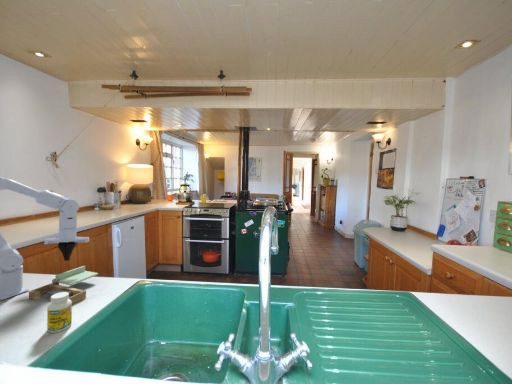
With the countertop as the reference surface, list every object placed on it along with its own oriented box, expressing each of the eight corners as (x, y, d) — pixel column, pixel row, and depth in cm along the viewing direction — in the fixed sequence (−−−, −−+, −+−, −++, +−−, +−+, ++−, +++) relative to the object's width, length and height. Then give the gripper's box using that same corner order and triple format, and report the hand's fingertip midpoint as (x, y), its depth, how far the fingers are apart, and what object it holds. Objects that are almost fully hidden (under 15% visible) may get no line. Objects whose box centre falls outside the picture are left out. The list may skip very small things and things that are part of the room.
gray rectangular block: (46, 299, 82) (46, 292, 82) (52, 296, 85) (52, 289, 84) (65, 301, 81) (66, 294, 81) (71, 298, 84) (72, 291, 84)
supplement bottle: (72, 320, 71) (73, 289, 71) (70, 329, 66) (71, 296, 66) (48, 325, 68) (49, 293, 68) (45, 335, 63) (45, 301, 63)
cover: (68, 286, 85) (68, 279, 85) (50, 282, 87) (50, 276, 87) (98, 274, 97) (98, 268, 97) (82, 271, 99) (82, 265, 99)
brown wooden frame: (28, 298, 82) (28, 290, 82) (54, 288, 90) (54, 280, 90) (65, 307, 77) (65, 298, 77) (89, 296, 85) (89, 288, 85)
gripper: (41, 230, 90) (40, 264, 91) (86, 229, 96) (85, 261, 96) (49, 226, 97) (48, 258, 97) (90, 225, 102) (90, 256, 103)
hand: (67, 260), depth 97 cm, fingers closed
